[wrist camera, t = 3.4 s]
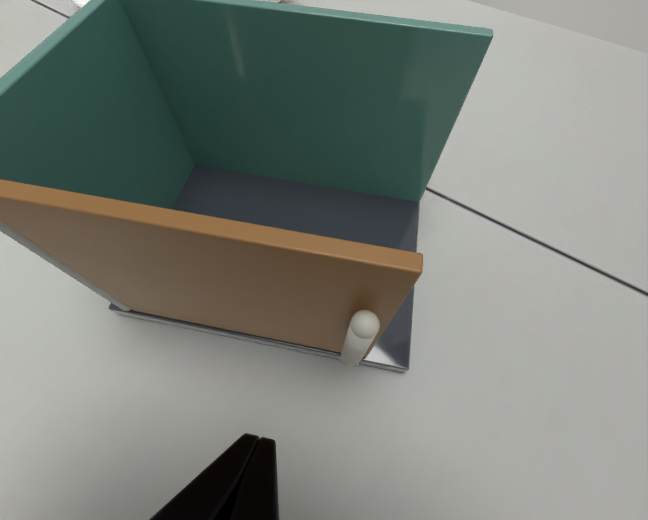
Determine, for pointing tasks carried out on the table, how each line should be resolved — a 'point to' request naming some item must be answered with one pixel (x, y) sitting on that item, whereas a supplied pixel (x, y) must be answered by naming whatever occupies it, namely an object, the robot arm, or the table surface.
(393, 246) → the shower stall
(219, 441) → the table surface
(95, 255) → the brown hinged door
